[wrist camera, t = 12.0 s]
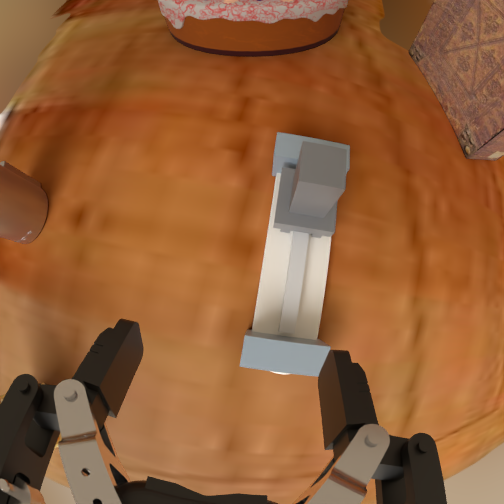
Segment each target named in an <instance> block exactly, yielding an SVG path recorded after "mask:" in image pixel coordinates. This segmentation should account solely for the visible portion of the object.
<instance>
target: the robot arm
mask: <svg viewBox="0 0 504 504" xmlns="http://www.w3.org/2000/svg"><path fill="white" fill-rule="evenodd" d="M47 212H48V199H47V195H46V193H45V191H44V190H43V189H42V188H41V183H40V182H38V181H36V180H35V179H33V178H31V177H30V176H28V175H26V174H25V173H23V172H21V171H20V170H18V169H17V168H15V167H13V166H12V165H10V164H9V163H7V162H5V161H2V162H1V163H0V237H3V238H6V239H9V240H13V241H15V242H19V243H23V244H28V243H30V242H32V241H33V240H34V239H35V238H36V237H37V236H38V235H39V233H40V231H41V230H42V228H43V225H44V223H45V220H46V217H47ZM142 356H143V343H142V338H141V333H140V328H139V324H138V323H137V322H134V321H130V320H126V319H120V320H119V321H118V323H117V324H116V326H115V327H114V329H113V328H107V329H106V330H105V331H103V332H102V333H101V334H100V335H99V336H98V338H97V339H96V341H95V342H94V345H92V347H91V349H90V352H88V353H87V355H86V357H85V358H84V360H83V362H82V363H81V365H80V366H79V368H78V370H77V371H76V373H75V375H74V376H73V378H72V379H67V380H64V381H62V382H60V383H59V384H58V385H57V386H56V385H45V384H39V383H38V382H37V380H36V379H35V377H33V376H32V375H29V374H22V375H20V376H18V377H17V378H16V379H15V380H14V381H13V383H12V385H11V386H10V388H9V390H8V392H7V393H6V395H5V397H4V399H3V401H2V402H1V404H0V504H45V502H44V498H43V496H42V494H41V493H40V489H41V486H42V482H43V479H44V476H45V473H46V470H47V467H48V464H49V461H50V459H51V456H52V453H53V450H54V448H55V445H56V442H57V440H58V437H59V435H60V432H61V438H62V440H61V441H59V443H58V447H59V452H60V456H61V460H62V463H63V467H64V470H65V473H66V477H67V480H68V483H69V486H70V489H71V491H72V494H73V497H74V500H75V502H76V504H278V503H275V502H272V501H269V500H267V496H266V495H249V494H228V495H215V496H205V495H201V494H199V493H197V492H194V491H192V490H189V489H187V488H185V487H183V486H180V485H178V484H176V483H172V482H168V481H164V480H160V479H156V478H153V477H149V476H148V478H147V481H144V480H143V481H132V482H131V481H130V479H129V477H128V475H127V473H126V471H125V469H124V467H123V465H122V464H121V462H120V460H119V458H118V456H117V453H116V451H115V448H114V446H113V443H112V440H111V438H110V435H109V432H108V429H107V426H106V423H105V420H106V418H107V416H108V415H109V416H112V417H114V418H116V417H117V415H118V412H119V410H120V407H121V405H122V403H123V400H124V398H125V396H126V393H127V391H128V389H129V386H130V384H131V382H132V379H133V377H134V375H135V373H136V370H137V368H138V366H139V364H140V362H141V359H142ZM367 383H368V382H367V378H366V374H365V372H364V370H363V369H362V368H361V366H360V365H359V364H358V363H352V361H351V357H350V354H349V352H348V351H344V350H330V351H329V353H328V355H327V357H326V359H325V362H324V364H323V366H322V368H321V370H320V373H319V377H318V389H319V398H320V407H321V416H322V426H323V436H324V447H325V450H331V449H333V452H334V456H333V457H332V458H331V460H330V461H329V462H328V464H327V465H326V466H325V468H324V469H323V470H322V472H321V473H320V474H319V475H318V477H317V478H316V479H315V480H314V481H313V483H312V484H311V485H310V486H309V487H308V489H307V490H306V491H305V492H304V493H302V494H301V495H300V496H299V497H298V498H297V500H296V501H295V502H294V503H293V504H360V503H361V502H362V500H363V499H364V497H365V495H366V493H367V489H366V486H367V484H368V482H369V481H370V479H371V478H372V479H375V484H376V499H377V504H447V501H446V494H445V487H444V482H443V476H442V471H441V466H440V461H439V456H438V452H437V447H436V444H435V441H434V440H433V438H432V437H431V436H429V435H428V434H425V433H418V434H415V435H413V436H412V437H411V438H410V439H407V438H401V437H396V436H391V435H389V434H388V432H387V431H386V430H385V429H384V428H383V427H381V426H379V424H378V421H377V417H376V413H375V409H374V405H373V401H372V397H371V393H370V389H369V385H368V384H367Z"/></svg>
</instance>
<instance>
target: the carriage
mask: <svg viewBox="0 0 504 504" xmlns="http://www.w3.org/2000/svg"><path fill="white" fill-rule="evenodd" d="M346 161H347V149H342V148H338V147H333V146H328V145H323V144H318V143H312V142H307V141H303V142H302V146H301V150H300V154H299V158H298V162H297V166H296V169H290V168H284V167H282V170H281V177H280V184H279V191H278V198H277V205H276V212H275V218H274V225H273V228H278V229H280V232H285V233H290V230H291V231H297V232H303V233H309V234H311V237H316V238H321V237H322V236H327V237H330V236H332V235H333V234H334V233H335V225H336V213H337V200H338V199H339V197H340V196H341V195H342V193H343V192H344V191H345V188H346Z"/></svg>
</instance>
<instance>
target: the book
mask: <svg viewBox="0 0 504 504" xmlns="http://www.w3.org/2000/svg"><path fill="white" fill-rule="evenodd" d="M409 54H410V56H411V57H412V59H413V60H414V62H415V63H416V65H417V66H418V67H419V69H420V71H421V72H422V74H423V75H424V77H425V78H426V80H427V82H428V83H429V85H430V87H431V88H432V90H433V92H434V93H435V95H436V97H437V99H438V100H439V102H440V104H441V106H442V108H443V110H444V112H445V113H446V115H447V117H448V119H449V121H450V123H451V125H452V128H453V130H454V132H455V134H456V136H457V138H458V141H459V143H460V145H461V147H462V150H463V152H464V155H465V157H466V159H483V160H498V159H499V158H501V157H502V156H504V0H434V2H433V4H432V6H431V8H430V10H429V12H428V14H427V16H426V18H425V20H424V22H423V24H422V26H421V29H420V31H419V32H418V34H417V36H416V38H415V40H414V42H413V44H412V46H411V48H410V50H409Z"/></svg>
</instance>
